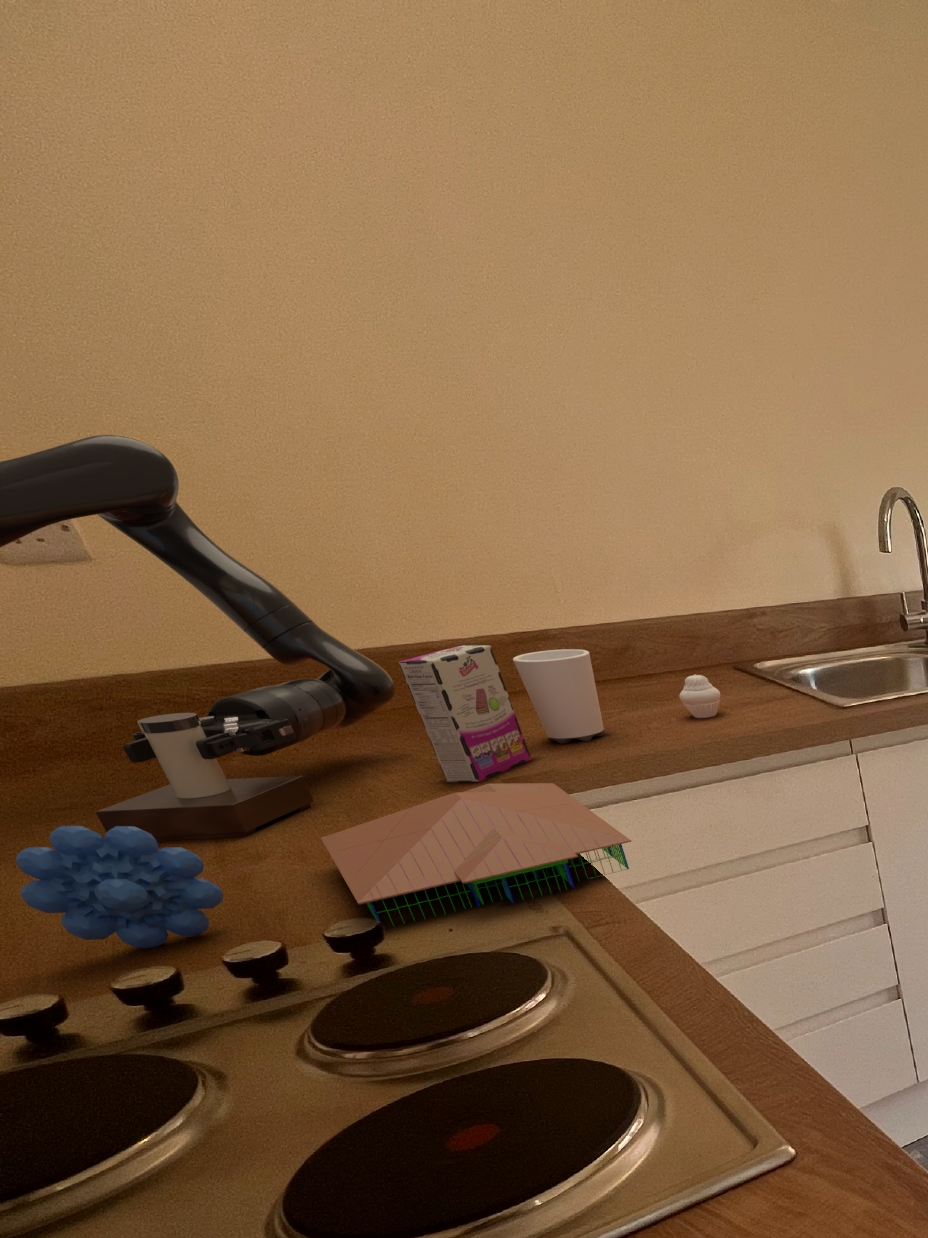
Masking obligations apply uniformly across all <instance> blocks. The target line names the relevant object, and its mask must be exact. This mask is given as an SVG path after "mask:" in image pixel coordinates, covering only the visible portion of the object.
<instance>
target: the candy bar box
mask: <svg viewBox="0 0 928 1238" xmlns="http://www.w3.org/2000/svg"><path fill="white" fill-rule="evenodd" d="M397 663H398V665H399V667H400V671H401V672H402V675H403V677H404V680H405V682H406V685H407V687H408V690H409V692H410V695H411V697H412V700H413V703H414V705H415V707H416V710H417V712H418V715H419V717H420V719H421V722H422V725H423V726H424V730H425V732H426V735H427V736H428V739H429V742H430V744H431V747H432V749H433V752H434V754H435V757H436V759H437V762H438V764H439V767H440V769H441V771H442V774H443V776H444V779H445V781H446V783H482V782H483V781H486V780H489V779H491V778H492V777H496V776H497V775H500V774H502V773H504V772H507V771H509V770H511V769H514V768H516V767H518V766H521V765H524V764H525V763H528V762H530V761H531V760H532V757H531V754H530V751H529V748H528V746H527V743H526V740H525V737H524V735H523V732H522V729H521V726H520V724H519V720H518V718H517V716H516V713H515V710H514V707H513V704H512V702H511V699H510V696H509V693H508V690H507V688H506V685H505V682H504V679H503V677H502V674H501V671H500V668H499V666H498V663H497V660H496V657H495V654H494V651H493V648H492V646H491V645H485V644H482V645H481V644H479V645H476V644H473V645H472V644H470V645H467V644H464V645H457V646H454V647H450V648H446V649H445V648H444V649H441V650H437V651H433V652H431V653H427V654H423V655H419V656H416V657H412V658H408V659H404V660H400V661H398V662H397Z"/></svg>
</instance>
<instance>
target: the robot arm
mask: <svg viewBox="0 0 928 1238" xmlns="http://www.w3.org/2000/svg"><path fill="white" fill-rule="evenodd" d="M179 489H180V482H179V476H178V472H177V469H176V467H175V466H174V464H173V463H172V462H171V460H170V459H169V458H168V457H167V456H166V455H165V454H164V453H163V452H161V451H160V450H158V449H157V448H155V447H154V446H152V445H150V444H148V443H146V442H143V441H141V440H138V439H135V438H132V437H127V436H123V435H116V434H115V435H114V434H99V435H92V436H88V437H84V438H80V439H77V440H74V441H70V442H67V443H63V444H60V445H57V446H53V447H50V448H47V449H43V450H40V451H36V452H32V453H30V454H26V455H22V456H18V457H15V458H9V459H6V460H1V461H0V548H3V547H5V546H7V545H9V544H11V543H13V542H16V541H18V540H19V539H21V538H24V537H26V536H29V535H30V534H32V533H35V532H36V531H38V530H41V529H43V528H45V527H49V526H51V525H54V524H57V523H60V522H65V521H69V520H73V519H79V518H85V517H90V516H95V515H97V516H98V517H99V518H101V519H103V520H104V521H105V522H107V523H108V524H109V525H111V526H112V527H114V528H115V529H116V530H118V531H119V532H121V533H122V534H124V535H125V536H126V537H128V538H129V539H131V540H132V541H134V542H135V543H136V544H138V545H140V546H141V547H142V548H144V549H145V550H147V551H148V552H149V553H150V554H152V555H153V556H155V557H156V558H157V559H158V560H160V561H161V562H162V563H163V564H166V565H167V566H168V567H169V568H170V569H171V570H173V572H175V573H176V574H178V575H179V576H180V577H181V578H182V579H184V580H185V581H186V582H187V583H188V584H190V585H191V586H193V587H194V588H195V589H196V590H197V591H199V593H201V594H202V595H203V596H204V597H205V598H206V599H207V600H208V601H210V602H211V603H212V604H213V605H214V606H215V607H217V608H218V609H219V610H220V611H221V612H222V613H223V614H224V615H225V616H227V617H228V618H229V619H230V620H231V621H232V622H233V623H234V624H235V625H236V626H237V627H238V628H240V630H242V631H243V633H245V634H246V635H247V636H248V637H249V638H251V640H253V642H255V643H256V644H257V645H258V646H259V647H260V648H261V649H263V650H264V651H265V653H267V654H268V655H269V656H270V657H271V658H273V659H274V660H275V661H276V662H278V663H280V664H282V665H284V666H294V665H299V664H301V663H304V662H307V661H309V660H312V661H315V662H317V663H320V664H322V665H323V666H325V667H327V668H328V670H327V671H325V672H324V673H322V674H321V675H319V676H317V677H316V678H298V679H293V680H289V681H285V682H282V683H278V684H275V685H266V686H261V687H257V688H254V689H250V690H247V691H243V692H239V693H236V694H233V695H232V694H231V695H229V696H226V697H223V698H220V699H218V700H216V701H215V702H214V703H213V704H212V705H211V707H210V709H209V710H208V713H207V716H203V717H198V718H199V720H200V722H201V726H202V728H203V731H204V733H205V735H206V737H207V738H205V739H202V740H199V741H197V742H196V746H197V748H198V750H199V752H200V754H201V756H202V758H203V759H215V758H217V759H218V758H220V757H224V756H226V755H229V754H231V753H238V754H242V755H246V756H253V757H261V756H266V755H269V754H272V753H274V752H277V751H280V750H283V749H285V748H288V747H291V746H294V745H296V744H299V743H301V742H304V741H306V740H308V739H310V737H312V736H314V735H317V734H320V733H322V732H325V731H328V730H340V729H341V730H342V729H345V728H348V727H351V726H353V725H356V724H357V723H359V722H362V721H363V720H364V719H365V718H367V717H368V716H370V715H371V714H373V713H374V712H376V711H377V710H379V709H380V708H382V707H383V706H385V705H386V704H388V703H389V702H391V701H392V700H393V699H394V697H395V695H396V687H395V682H394V681H393V679H392V677H391V676H390V675H389V673H388V672H387V671H386V670H385V669H384V668H383V667H381V665H379V664H378V663H377V662H375V661H373V660H372V659H370V658H368V657H367V656H366V655H364V654H362V653H361V652H358V651H357V650H355V649H353V648H352V647H350V646H348V645H347V644H346V643H344V642H342V641H341V640H339V639H338V638H336V637H335V636H333V635H331V634H330V633H329V632H327V631H325V629H323V628H321V627H320V625H318V624H317V623H316V622H315V621H314V620H313V619H312V618H311V617H310V616H308V614H306V613H305V612H304V610H302V609H301V608H300V607H299V606H298V605H297V604H296V603H295V602H294V601H292V599H291V598H290V597H288V596H287V595H286V593H285V594H284V592H282V590H280V589H279V588H278V587H276V585H274V584H272V583H271V582H270V581H268V580H267V579H266V578H264V577H263V576H261V575H260V574H259V573H257V572H255V571H254V570H253V569H251V568H250V567H248V566H246V565H245V564H244V563H242V562H241V561H239V560H237V559H236V558H235V557H233V556H232V555H230V554H229V553H227V552H226V551H225V550H224V549H223V548H221V547H220V546H219V545H218V544H216V543H215V541H213V540H212V539H211V538H210V537H209V536H207V534H206V533H205V532H203V531H202V530H201V528H200V527H198V525H197V524H196V523H195V522H194V521H193V520H192V518H191V517H190V516H189V515H188V514H187V512H186V511H185V510H184V509H183V508H182V506H181V505H180V504H179V503H178V502H177V499H178V495H179ZM131 735H132V738H133V739H134V740H133V741H130V742H126V743H124V744H123V750H124V752H125V753H126V756H127V758H128V759H129V761H130V763H133V764H135V763H144V762H146V761H150V760H153V759H157V757H156V755H155V753H154V751H153V749H152V747H151V745H150V743H149V741H148V739H147V737H146V735H145V734H144V733H143V732H142V730H141V731H138V732H135V733H132V734H131Z"/></svg>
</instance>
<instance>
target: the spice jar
mask: <svg viewBox="0 0 928 1238" xmlns="http://www.w3.org/2000/svg"><path fill="white" fill-rule="evenodd" d="M199 718H200V717H199V715H198V714H197V713H196V712H176V713H165V714H159V715H154V716H148V717H144V718H141V719H139V720H137V724H138V726H139V728H140V730H141V731H142V732H143V733H144V734H145V735H146V737H147V739H148V741H149V743H150V745H151V747H152V749H153V751H154V753H155V755H156V759H157V761H158V763H159V765H160V767H161V769H162V771H163V774H164V776H165V777H166V779H167V781H168V783H169V785H171V787H172V789H173V791H174V793H175V795H176V797H177V798H181V799H190V798H200V797H207V796H212V795H216V794H220V793H224V792H226V791H228V790H230V789H231V787H230V785H229V783H228V781H227V779H228V778H227V776H226V775H225V773H224V771H223V769H222V766H221V764H220V762H219V760H218V758H215V759H203V758H202V756H201V754H200V752H199V750H198V748H197V746H196V742H197V741H199V740H202V739H205V738H207V737H206V735H205V733H204V731H203V728H202V726H201V722H200V720H199Z"/></svg>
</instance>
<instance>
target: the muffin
mask: <svg viewBox="0 0 928 1238" xmlns="http://www.w3.org/2000/svg"><path fill="white" fill-rule="evenodd" d="M682 687H683V689H682V690H681V691H680V693H679V695H678V696H679V700H680V701H681V702H682V705H683V706H684V707H685V708H686V709H687V710H688V712H689V713H690V714H691V715H692V716H693V717H694V718H696V719H707V718H711V717H712V718H713V717H715V716H717V713H718V710H719V706H720V703H721V699H720V698H721V692H720V690H719V689H718V688H716V687H715V686H713V684H712V683H711V682H709V678H707V677H706V676H704V675H701V674H696V673H693V675H689V676H687V677H686V678H685V679H684V685H683V686H682Z"/></svg>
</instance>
